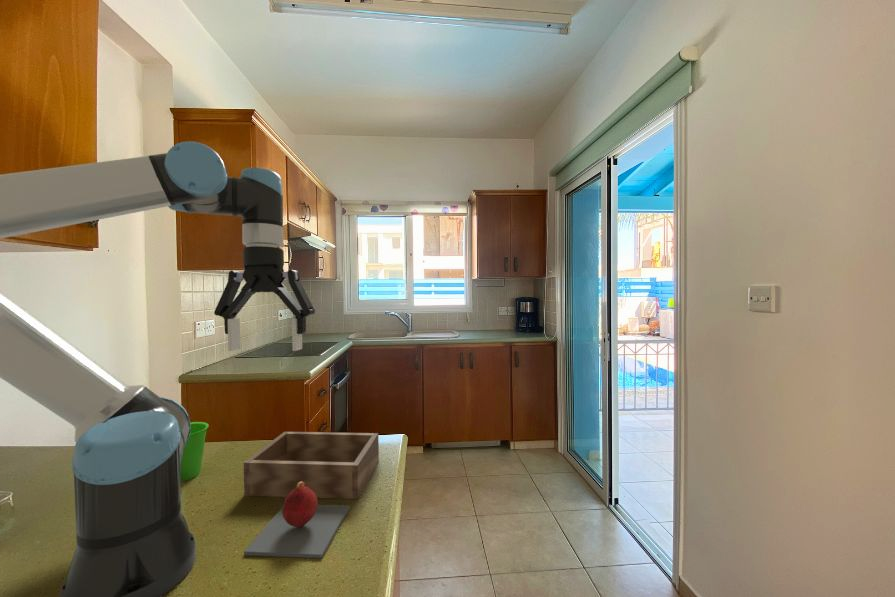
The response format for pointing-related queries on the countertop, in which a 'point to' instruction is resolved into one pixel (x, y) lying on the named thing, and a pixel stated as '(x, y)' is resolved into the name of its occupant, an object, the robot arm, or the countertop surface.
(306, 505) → the onion
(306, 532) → the mat
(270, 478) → the box
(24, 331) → the robot arm
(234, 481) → the countertop surface
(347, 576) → the countertop surface
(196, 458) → the cup
